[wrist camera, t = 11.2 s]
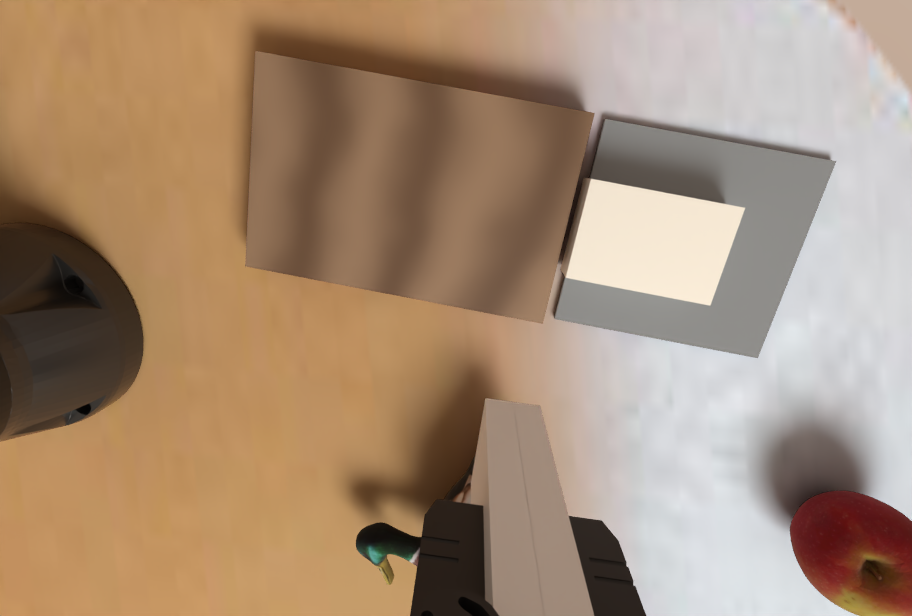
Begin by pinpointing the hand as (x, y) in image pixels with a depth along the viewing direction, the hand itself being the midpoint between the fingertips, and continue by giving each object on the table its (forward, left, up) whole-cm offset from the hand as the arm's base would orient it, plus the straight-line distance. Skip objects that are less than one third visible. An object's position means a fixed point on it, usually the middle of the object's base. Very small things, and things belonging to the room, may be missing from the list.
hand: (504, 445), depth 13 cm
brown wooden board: (-7, +4, -20) cm, 22 cm away
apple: (+27, -13, -21) cm, 37 cm away
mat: (+11, +4, -20) cm, 24 cm away
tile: (+8, +4, -20) cm, 22 cm away
